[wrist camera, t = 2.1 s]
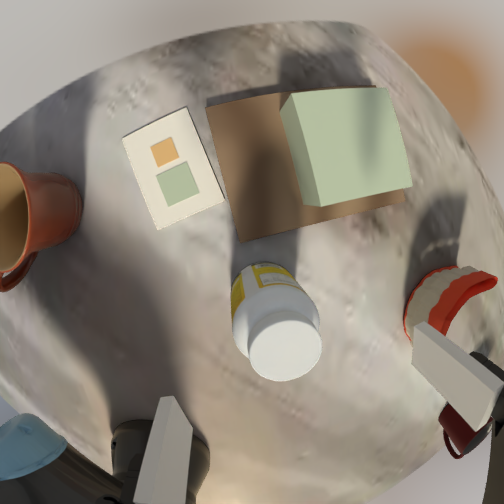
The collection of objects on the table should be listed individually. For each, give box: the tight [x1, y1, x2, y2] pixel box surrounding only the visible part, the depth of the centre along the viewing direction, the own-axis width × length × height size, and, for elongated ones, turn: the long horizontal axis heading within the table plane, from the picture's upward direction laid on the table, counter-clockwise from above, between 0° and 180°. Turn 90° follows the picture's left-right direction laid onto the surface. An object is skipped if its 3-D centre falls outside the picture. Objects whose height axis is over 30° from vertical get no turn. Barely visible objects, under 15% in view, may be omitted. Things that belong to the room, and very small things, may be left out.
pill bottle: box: [231, 262, 322, 381], centre depth 22 cm, size 6×6×12 cm
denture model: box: [404, 266, 498, 347], centre depth 26 cm, size 13×10×8 cm
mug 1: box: [0, 162, 82, 293], centre depth 19 cm, size 12×9×10 cm
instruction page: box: [122, 108, 225, 230], centre depth 24 cm, size 7×10×1 cm
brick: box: [280, 88, 413, 207], centre depth 21 cm, size 9×9×5 cm
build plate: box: [205, 85, 405, 243], centre depth 24 cm, size 18×13×1 cm
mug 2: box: [439, 404, 493, 459], centre depth 31 cm, size 12×9×11 cm
